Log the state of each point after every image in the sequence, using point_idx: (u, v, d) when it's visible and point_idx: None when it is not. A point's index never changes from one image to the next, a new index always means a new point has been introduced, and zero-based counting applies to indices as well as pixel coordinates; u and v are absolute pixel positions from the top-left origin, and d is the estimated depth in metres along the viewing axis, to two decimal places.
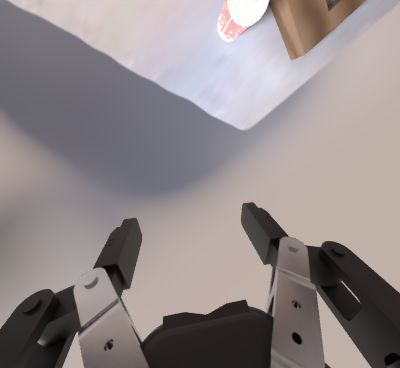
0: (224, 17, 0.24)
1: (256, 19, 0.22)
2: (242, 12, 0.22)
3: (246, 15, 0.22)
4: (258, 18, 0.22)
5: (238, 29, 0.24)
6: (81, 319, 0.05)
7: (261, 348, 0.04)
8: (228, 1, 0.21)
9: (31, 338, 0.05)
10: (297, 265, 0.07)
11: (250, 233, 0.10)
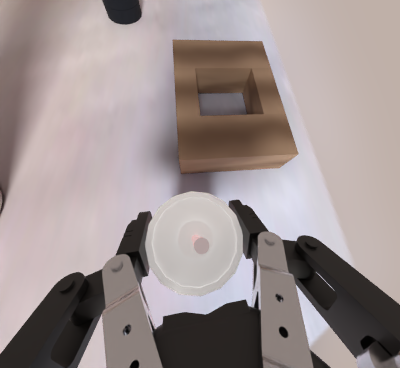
0: None
1: (239, 242, 0.09)
2: (211, 267, 0.09)
3: (221, 260, 0.09)
4: (240, 236, 0.09)
5: None
6: (106, 299, 0.06)
7: (252, 350, 0.04)
8: None
9: (63, 317, 0.05)
10: (275, 258, 0.07)
11: None
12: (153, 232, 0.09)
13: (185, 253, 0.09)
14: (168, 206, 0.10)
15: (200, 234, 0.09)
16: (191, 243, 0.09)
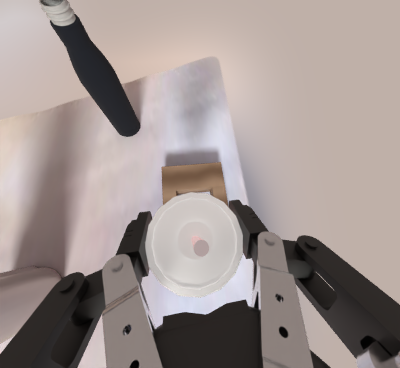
0: None
1: (239, 243, 0.09)
2: (211, 268, 0.09)
3: (221, 261, 0.09)
4: (240, 237, 0.09)
5: None
6: (106, 299, 0.06)
7: (252, 350, 0.04)
8: None
9: (63, 317, 0.05)
10: (275, 258, 0.07)
11: None
12: (153, 233, 0.09)
13: (185, 254, 0.09)
14: (168, 207, 0.10)
15: (200, 235, 0.09)
16: (191, 244, 0.09)
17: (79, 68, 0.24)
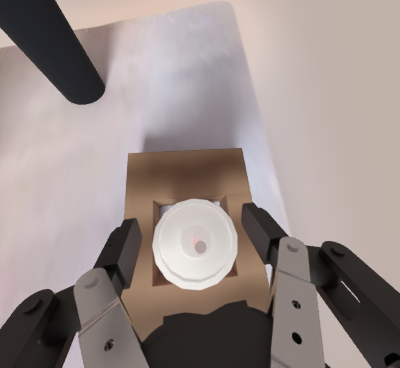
0: None
1: (234, 243, 0.11)
2: (210, 265, 0.10)
3: (218, 259, 0.10)
4: (235, 238, 0.11)
5: None
6: (81, 319, 0.05)
7: (261, 348, 0.04)
8: None
9: (31, 338, 0.05)
10: (297, 265, 0.07)
11: (250, 233, 0.10)
12: (159, 234, 0.11)
13: (187, 253, 0.10)
14: (172, 212, 0.11)
15: (200, 237, 0.10)
16: (192, 244, 0.10)
17: None
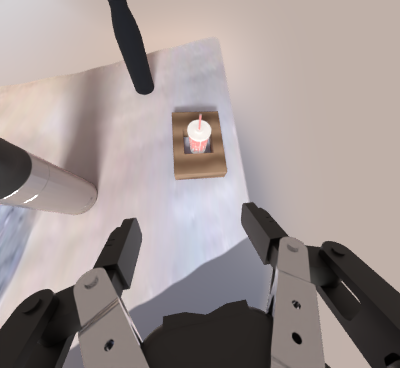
0: (196, 146, 0.40)
1: (210, 130, 0.37)
2: (203, 135, 0.37)
3: (205, 134, 0.37)
4: (210, 129, 0.38)
5: (206, 142, 0.40)
6: (81, 319, 0.05)
7: (261, 348, 0.04)
8: (194, 139, 0.37)
9: (31, 338, 0.05)
10: (297, 265, 0.07)
11: (250, 233, 0.10)
12: (189, 128, 0.37)
13: (197, 131, 0.37)
14: (192, 122, 0.38)
15: (200, 128, 0.37)
16: (198, 129, 0.37)
17: (118, 26, 0.34)
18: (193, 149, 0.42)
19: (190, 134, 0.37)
